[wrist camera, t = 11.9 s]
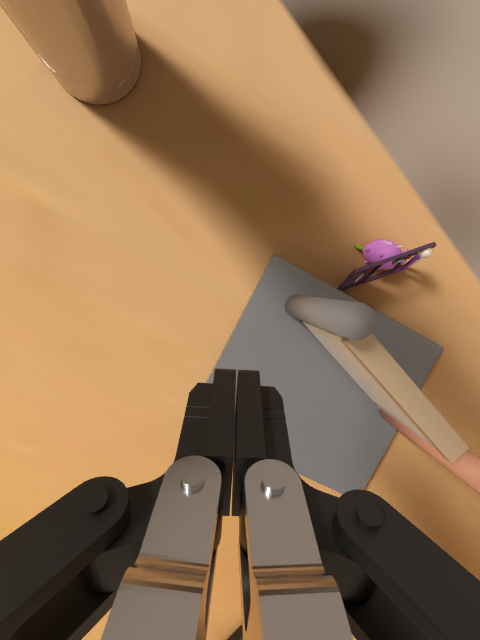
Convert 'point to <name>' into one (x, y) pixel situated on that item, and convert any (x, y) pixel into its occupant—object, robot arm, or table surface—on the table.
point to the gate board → (328, 376)
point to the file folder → (237, 634)
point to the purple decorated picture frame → (384, 261)
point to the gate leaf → (392, 389)
